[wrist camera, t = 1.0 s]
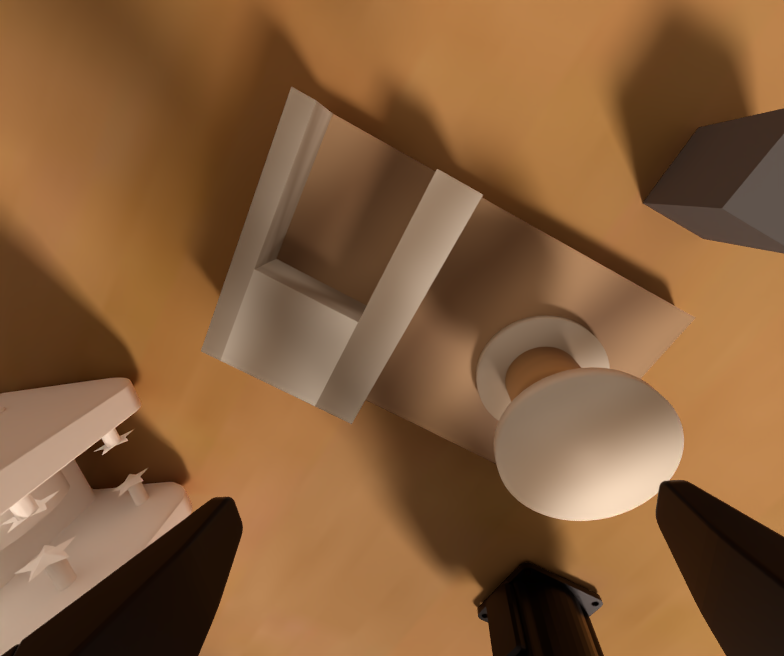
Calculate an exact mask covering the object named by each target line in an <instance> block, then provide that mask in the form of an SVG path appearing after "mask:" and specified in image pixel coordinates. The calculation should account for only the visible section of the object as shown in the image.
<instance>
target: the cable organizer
mask: <svg viewBox="0 0 784 656" xmlns="http://www.w3.org/2000/svg"><path fill="white" fill-rule="evenodd" d="M140 406H141V401H140V399H139V397H138V395H137V393H136V391H135V389H134V387H133V385H132V382H131V381H130V380H129V379H127V378H121V377H117V378H107V379H100V380H92V381H85V382H78V383H71V384H64V385H57V386H50V387H42V388H35V389H28V390H21V391H14V392H7V393H0V656H1V655H3V654H4V653H5V652H7V651H8V650H9V649H11V648H12V647H13V646H15V645H17V644H20V642H21V641H22V640H23V639H24V638H26V637H27V636H28V635H30V634H31V633H32V632H34V631H35V630H36V629H38V628H39V627H40V626H42V625H43V624H44V623H46V622H47V621H48V620H50V619H51V618H52V617H54V616H55V615H56V614H58V613H59V612H60V611H62V610H63V609H64V608H66V607H67V606H68V605H70V604H71V603H72V602H74V601H75V600H76V599H78V598H79V597H81V596H82V595H83V594H85V593H86V592H87V591H89V590H90V589H91V588H93V587H94V586H95V585H97V584H98V583H99V582H101V581H102V580H103V579H105V578H106V577H107V576H109V575H110V574H111V573H113V572H114V571H115V570H117V569H118V568H119V567H121V566H122V565H123V564H125V563H126V562H127V561H129V560H130V559H132V558H133V557H134V556H136V555H137V554H138V553H140V552H141V551H142V550H144V549H145V548H146V547H148V546H149V545H150V544H152V543H153V542H154V541H156V540H157V539H158V538H160V537H161V536H162V535H164V534H165V533H166V532H168V531H169V530H170V529H172V528H173V527H174V526H176V525H177V524H178V523H180V522H181V521H182V520H184V519H185V518H186V517H188V516H189V515H190V514H191V511H192V503H191V501H190V499H189V497H188V494H187V492H186V490H185V488H184V487H183V486H182V485H180V484H176V483H175V482H162V483H151V484H142V481H143V479H142V478H141V475H142V474H143V473H144V472H145V471H146V470H147V469H148V468H149V467H148V468H147V469H145V470H143V471H141V472H140V473H138V474H136V475H134V474H129V475H128V477H127V478H126V480H125V482H124V483H122V484H121V485H120V486H118V487H117V488H107V489H91V487H90V485H89V484H88V482H87V480H86V478H85V477H84V475H83V473H82V472H81V470H80V468H79V466H78V465H77V463H76V461H75V460H74V459H75V458H76V457H78V456H79V455H80V454H82V453H83V452H84V451H85V450H87V449H88V448H89V447H91V446H92V445H93V444H95V443H96V442H97V441H98V440H100V439H101V438H102V440H103V442H104V444H105V445H104V446H102V447H100V448H99V449H97V450H95V451H99V450H103V449H104V451H103V454H105V453H106V452H107V451H109V450H110V449H111V448H113V447H114V446H116V445H118V444H121V443H123V442H126V441H128V439H127V438H126V436H127V435H128V434H130V433H131V432H132V431H133V430H134V429H133V430H131V431H129V432H127V433H125V434H123V435H121V436H119V434H118V432H117V430H116V428H115V427H117V426H118V425H119V424H121V423H122V422H123V421H125V420H126V419H127V418H129V417H130V416H131V415H132V414H134V413H135V412H136V411H137V410H138V409H139V408H140ZM95 451H94V452H95ZM103 454H102V455H103Z"/></svg>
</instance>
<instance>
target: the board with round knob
mask: <svg viewBox="0 0 784 656" xmlns="http://www.w3.org/2000/svg"><path fill="white" fill-rule="evenodd" d="M482 196H483V194H481V193H479V192H478V191H476V190H474V189H472V188H470V187H469V186H467V185H465V184H463V183H462V182H460V181H458V180H456V179H455V178H453V177H451V176H449V175H447V174H446V173H444V172H442V171H440V170H439V169H437V170H436V171H434V170H432V169H430V168H429V167H427V166H425V165H423V164H422V163H420V162H418V161H416V160H414V159H413V158H411V157H409V156H407V155H406V154H404V153H402V152H400V151H398V150H397V149H395V148H393V147H391V146H390V145H388V144H386V143H384V142H382V141H381V140H379V139H377V138H375V137H374V136H372V135H370V134H368V133H366V132H365V131H363V130H361V129H359V128H358V127H356V126H354V125H352V124H350V123H349V122H347V121H345V120H343V119H342V118H340V117H338V116H336V115H334V114H333V113H331V112H330V111H329V110H328V109H326V108H325V107H324V106H323V105H321V104H320V103H319V102H318V101H316V100H314V99H313V98H311V97H309V96H307V95H306V94H304V93H302V92H300V91H298V90H297V89H295V88H293V87H291V89H290V92H289V95H288V98H287V101H286V104H285V107H284V110H283V113H282V115H281V118H280V121H279V124H278V127H277V130H276V133H275V136H274V139H273V142H272V145H271V148H270V151H269V153H268V156H267V159H266V162H265V165H264V168H263V171H262V174H261V177H260V180H259V183H258V186H257V189H256V191H255V194H254V197H253V200H252V203H251V206H250V209H249V212H248V215H247V218H246V221H245V224H244V227H243V230H242V232H241V235H240V238H239V241H238V244H237V247H236V250H235V253H234V256H233V259H232V262H231V265H230V268H229V270H228V273H227V276H226V279H225V282H224V285H223V288H222V291H221V294H220V297H219V300H218V303H217V306H216V308H215V311H214V314H213V317H212V320H211V323H210V326H209V329H208V332H207V335H206V338H205V341H204V344H203V346H202V349H201V351H202V352H204V353H206V354H208V355H210V356H212V357H214V358H216V359H218V360H220V361H222V362H224V363H226V364H228V365H231V366H233V367H235V368H237V369H239V370H241V371H243V372H245V373H247V374H249V375H251V376H253V377H255V378H257V379H260V380H262V381H264V382H266V383H268V384H270V385H272V386H274V387H276V388H278V389H280V390H282V391H284V392H286V393H289V394H291V395H293V396H295V397H297V398H299V399H301V400H303V401H305V402H307V403H309V404H311V405H313V406H315V407H318V408H320V409H322V410H324V411H326V412H328V413H330V414H332V415H334V416H336V417H338V418H340V419H342V420H344V421H347V422H349V423H351V424H352V422H353V421H354V419H355V417H356V415H357V414H358V412H359V410H360V408H361V407H362V405H363V403H364V401H365V400H367V401H369V402H371V403H373V404H375V405H377V406H379V407H381V408H383V409H385V410H387V411H389V412H391V413H393V414H395V415H397V416H399V417H401V418H403V419H406V420H408V421H410V422H412V423H414V424H416V425H418V426H420V427H422V428H424V429H426V430H428V431H430V432H432V433H434V434H436V435H438V436H440V437H442V438H444V439H446V440H448V441H450V442H452V443H454V444H456V445H458V446H460V447H463V448H465V449H467V450H469V451H471V452H473V453H475V454H477V455H479V456H481V457H483V458H485V459H487V460H489V461H491V462H493V463H495V464H497V468H498V471H499V474H500V477H501V479H502V481H503V483H504V485H505V487H506V488H507V489H508V490H509V492H510V493H511V494H512V495H513V496H514V497H515V498H516V499H517V500H518V501H519V502H521V503H522V504H523V505H525V506H526V507H528V508H530V509H532V510H534V511H536V512H538V513H540V514H543V515H546V516H549V517H553V518H557V519H563V520H572V521H589V520H598V519H603V518H608V517H612V516H616V515H619V514H622V513H624V512H627V511H629V510H632V509H634V508H636V507H638V506H639V505H641V504H643V503H644V502H646V501H647V500H649V499H651V498H652V497H653V496H654V495H655V494H657V493H658V491H659V486H660V484H661V482H663V481H669V480H670V479H671V477H672V476H673V475H674V473H675V471H676V469H677V467H678V465H679V463H680V460H681V457H682V453H683V448H684V434H683V428H682V424H681V422H680V419H679V417H678V415H677V413H676V411H675V410H674V408H673V407H672V406H671V404H670V403H669V402H668V401H667V400H666V399H665V398H664V397H663V396H662V395H660V394H659V393H658V392H657V391H656V390H655V389H654V388H652V387H651V386H650V385H649V384H648V383H646V382H644V381H643V380H641V378H642V377H643V376H644V374H645V373H646V372H647V371H648V370H649V369H650V368H651V367H652V366H653V365H654V363H655V362H656V361H657V360H658V359H659V358H660V357H661V356H662V355H663V353H664V352H665V351H666V350H667V349H668V348H669V347H670V346H671V345H672V343H673V342H674V341H675V340H676V339H677V338H678V337H679V336H680V335H681V334H682V332H683V331H684V330H685V329H686V328H687V327H688V326H689V325H690V324H691V322H692V321H693V320H694V319H695V317H693V316H692V315H690V314H688V313H686V312H684V311H683V310H681V309H679V308H677V307H676V306H674V305H672V304H670V303H668V302H667V301H665V300H663V299H661V298H660V297H658V296H656V295H654V294H652V293H651V292H649V291H647V290H645V289H644V288H642V287H640V286H638V285H636V284H635V283H633V282H631V281H629V280H628V279H626V278H624V277H622V276H620V275H619V274H617V273H615V272H613V271H612V270H610V269H608V268H606V267H605V266H603V265H601V264H599V263H597V262H596V261H594V260H592V259H590V258H589V257H587V256H585V255H583V254H581V253H580V252H578V251H576V250H574V249H573V248H571V247H569V246H567V245H565V244H564V243H562V242H560V241H558V240H557V239H555V238H553V237H551V236H549V235H548V234H546V233H544V232H542V231H541V230H539V229H537V228H535V227H533V226H532V225H530V224H528V223H526V222H525V221H523V220H521V219H519V218H517V217H516V216H514V215H512V214H510V213H509V212H507V211H505V210H503V209H501V208H500V207H498V206H496V205H494V204H493V203H491V202H489V201H487V200H485V199H484V198H482Z"/></svg>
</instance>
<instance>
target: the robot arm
mask: <svg viewBox="0 0 784 656" xmlns="http://www.w3.org/2000/svg"><path fill="white" fill-rule="evenodd" d="M656 519H657V523H658V525H659V528H660V530H661V532H662V534H663V536H664V538H665V540H666V542H667V544H668V546H669V548H670V550H671V552H672V555H673V557H674V559H675V561H676V563H677V565H678V567H679V569H680V571H681V573H682V575H683V577H684V579H685V581H686V584H687V586H688V588H689V590H690V592H691V594H692V596H693V598H694V600H695V602H696V604H697V606H698V608H699V610H700V612H701V613H702V615H703V617H704V619H705V620H706V622H707V624H708V626H709V627H710V629H711V631H712V633H713V634H714V636H715V638H716V639H717V641H718V643H719V644H720V646H721V648H722V649H723V651H724V653H725V654H726V656H784V537H783V536H782V535H780V534H778V533H776V532H775V531H773V530H771V529H769V528H768V527H766V526H764V525H762V524H761V523H759V522H757V521H756V520H754V519H752V518H750V517H749V516H747V515H745V514H743V513H742V512H740V511H738V510H737V509H735V508H733V507H731V506H730V505H728V504H726V503H724V502H723V501H721V500H719V499H718V498H716V497H714V496H712V495H711V494H709V493H707V492H705V491H704V490H702V489H700V488H699V487H697V486H695V485H693V484H692V483H690V482H688V481H684V480H671V481H663V482H661V484H660V486H659V491H658V498H657V505H656ZM242 531H243V526H242V521H241V518H240V515H239V513H238V510H237V507H236V504H235V502H234V500H233V499H232V498H231V497H216V498H212V499H211V500H209V501H208V502H207V503H205V504H204V505H203V506H201V507H200V508H199V509H197V510H196V511H195V512H193V513H192V514H191V515H189V516H188V517H186V518H185V519H184V520H182V521H181V522H180V523H178V524H177V525H176V526H174V527H173V528H172V529H170V530H169V531H168V532H166V533H165V534H164V535H162V536H161V537H160V538H158V539H157V540H156V541H154V542H153V543H152V544H150V545H149V546H148V547H146V548H145V549H144V550H142V551H141V552H140V553H138V554H137V555H136V556H134V557H133V558H132V559H130V560H129V561H127V562H126V563H125V564H123V565H122V566H121V567H119V568H118V569H117V570H115V571H114V572H113V573H111V574H110V575H109V576H107V577H106V578H105V579H103V580H102V581H101V582H99V583H98V584H97V585H95V586H94V587H93V588H91V589H90V590H89V591H87V592H86V593H85V594H83V595H82V596H81V597H79V598H78V599H76V600H75V601H74V602H72V603H71V604H70V605H68V606H67V607H66V608H64V609H63V610H62V611H60V612H59V613H58V614H56V615H55V616H54V617H52V618H51V619H50V620H48V621H47V622H46V623H44V624H43V625H42V626H40V627H39V628H38V629H36V630H35V631H34V632H32V633H31V634H30V635H28V636H27V637H26V638H24V639H23V640H22V641H21V642H20V644H17V645H15V646H13V647H12V648H11V649H9V650H8V651H7V652H5V653H4V654H3V655H1V656H198V655H199V653H200V650H201V648H202V646H203V643H204V641H205V638H206V636H207V634H208V631H209V629H210V626H211V624H212V622H213V619H214V617H215V614H216V612H217V609H218V606H219V603H220V600H221V598H222V595H223V592H224V588H225V585H226V582H227V579H228V576H229V573H230V570H231V567H232V564H233V561H234V557H235V554H236V551H237V548H238V545H239V542H240V539H241V536H242ZM602 605H603V602H602V600H601V598H600V596H599V595H598V594H596V593H594V592H592V591H590V590H588V589H586V588H584V587H581V586H579V585H577V584H575V583H573V582H571V581H569V580H566V579H564V578H562V577H560V576H558V575H556V574H554V573H551V572H549V571H547V570H545V569H543V568H541V567H539V566H537V565H534V564H532V563H529V562H524V563H522V564H521V565H520V566H519V567H518V568H517V569H516V570H515V571H514V572H513V573H512V574H511V575H510V576H509V577H508V578H507V579H506V580H505V581H504V582H503V583H502V584H501V585H500V586H499V587H498V588H497V589H496V590H495V591H494V592H493V593H492V594H491V595H490V596H489V597H488V598H487V599H486V600H485V601H484V602H483V603H482V604H481V605H480V606H479V608H478V617H479V618H480V619H481V620H483V621H486V622H488V624H489V631H490V638H491V645H492V653H493V656H604V655H603V652H602V650H601V647H600V644H599V642H598V639H597V636H596V634H595V631H594V628H593V626H592V623H591V620H590V618H589V616H591V615H592V614H593V613H594V612H595V611H597V610H598V609H599V608H600V607H601V606H602Z"/></svg>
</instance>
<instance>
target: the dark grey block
mask: <svg viewBox="0 0 784 656" xmlns="http://www.w3.org/2000/svg"><path fill="white" fill-rule="evenodd" d="M643 204H645V205H647V206H648V207H650V208H652V209H653V210H655V211H657V212H659V213H660V214H662V215H664V216H665V217H667V218H669V219H670V220H672V221H674V222H676V223H677V224H679V225H681V226H682V227H684V228H686V229H687V230H689V231H691V232H693V233H694V234H696V235H698V236H699V237H701V238H703V239H707V240H713V241H718V242H724V243H729V244H735V245H740V246H746V247H751V248H757V249H762V250H768V251H773V252H779V253H784V109H779V110H775V111H770V112H766V113H761V114H757V115H753V116H748V117H744V118H739V119H735V120H730V121H726V122H721V123H717V124H712V125H708V126H703V127H699V128H698V129H697V130H696V132H695V133H694V134H693V136H692V137H691V138H690V140H689V141H688V142H687V144H686V145H685V147H684V148H683V149H682V151H681V152H680V153H679V155H678V156H677V157H676V159H675V160H674V161H673V163H672V164H671V165H670V167H669V168H668V169H667V171H666V172H665V173H664V175H663V176H662V178H661V179H660V180H659V182H658V183H657V184H656V186H655V187H654V188H653V190H652V191H651V192H650V194H649V195H648V196H647V198H646V199H645V200H644V202H643Z"/></svg>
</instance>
